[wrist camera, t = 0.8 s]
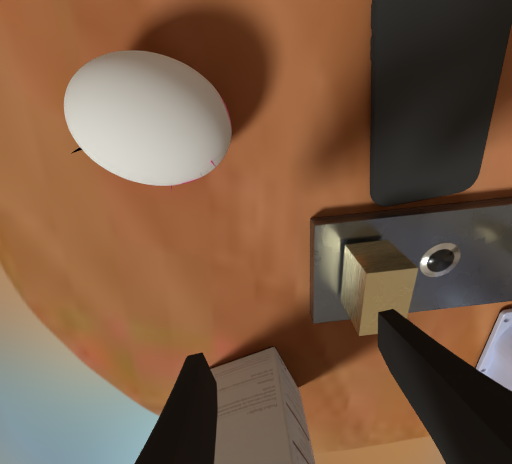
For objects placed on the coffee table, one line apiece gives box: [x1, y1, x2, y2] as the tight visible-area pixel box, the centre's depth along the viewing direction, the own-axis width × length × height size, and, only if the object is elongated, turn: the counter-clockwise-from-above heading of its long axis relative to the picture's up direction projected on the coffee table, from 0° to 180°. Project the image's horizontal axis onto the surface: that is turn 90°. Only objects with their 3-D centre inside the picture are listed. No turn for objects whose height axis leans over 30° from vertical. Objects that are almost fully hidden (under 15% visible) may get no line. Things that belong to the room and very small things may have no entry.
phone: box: [370, 0, 512, 206], centre depth 15 cm, size 7×1×15 cm
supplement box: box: [210, 347, 315, 464], centre depth 21 cm, size 7×7×13 cm
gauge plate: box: [310, 197, 512, 323], centre depth 18 cm, size 9×19×6 cm, turn 95°
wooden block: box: [341, 240, 418, 336], centre depth 18 cm, size 5×3×3 cm, turn 5°
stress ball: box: [64, 50, 232, 191], centre depth 14 cm, size 8×8×7 cm
